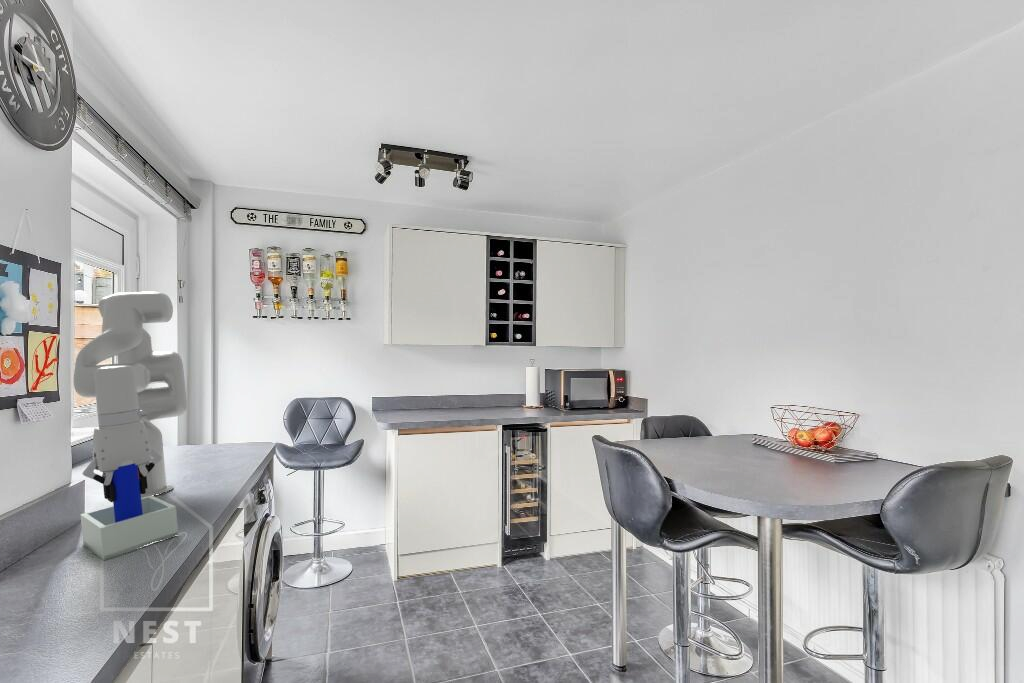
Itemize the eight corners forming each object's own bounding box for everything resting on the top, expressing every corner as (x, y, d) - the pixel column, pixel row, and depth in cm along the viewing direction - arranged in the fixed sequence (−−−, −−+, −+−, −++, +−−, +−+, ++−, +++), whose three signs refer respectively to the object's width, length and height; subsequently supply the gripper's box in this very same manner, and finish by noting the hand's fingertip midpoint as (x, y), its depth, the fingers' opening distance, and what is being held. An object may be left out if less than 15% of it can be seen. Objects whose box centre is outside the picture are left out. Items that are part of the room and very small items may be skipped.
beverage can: (148, 519, 119) (142, 456, 118) (125, 528, 114) (119, 463, 113) (133, 518, 121) (127, 456, 120) (110, 527, 116) (103, 462, 115)
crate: (83, 544, 117) (80, 514, 117) (154, 522, 128) (151, 495, 128) (103, 560, 107) (100, 528, 107) (178, 535, 118) (175, 506, 118)
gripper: (156, 411, 125) (163, 483, 126) (66, 425, 112) (75, 506, 113) (168, 413, 121) (175, 488, 122) (75, 428, 107) (84, 512, 108)
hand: (126, 496), depth 117 cm, fingers closed on beverage can, 5 cm apart
